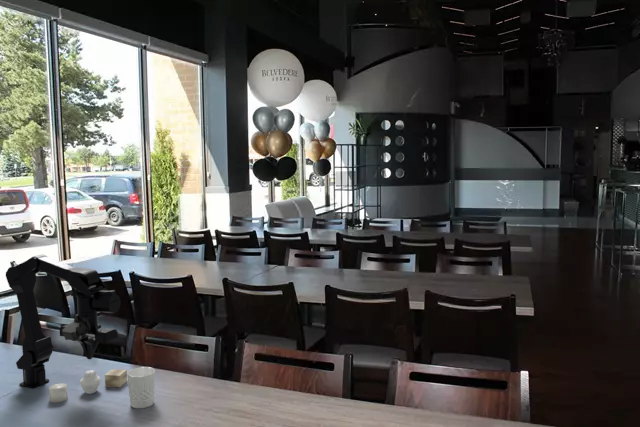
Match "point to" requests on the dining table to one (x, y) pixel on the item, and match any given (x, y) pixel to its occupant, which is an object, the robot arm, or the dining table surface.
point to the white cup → (141, 386)
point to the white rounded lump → (58, 393)
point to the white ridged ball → (90, 382)
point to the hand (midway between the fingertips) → (89, 358)
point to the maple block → (115, 378)
